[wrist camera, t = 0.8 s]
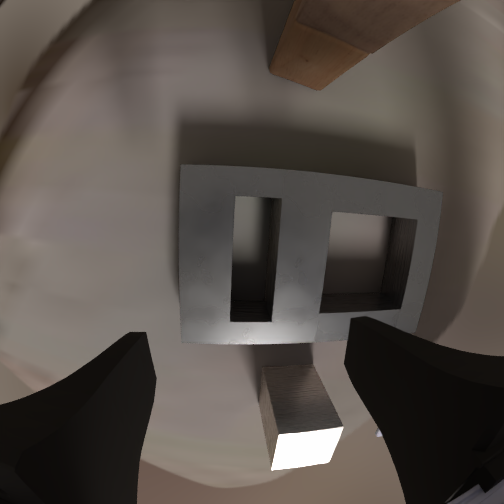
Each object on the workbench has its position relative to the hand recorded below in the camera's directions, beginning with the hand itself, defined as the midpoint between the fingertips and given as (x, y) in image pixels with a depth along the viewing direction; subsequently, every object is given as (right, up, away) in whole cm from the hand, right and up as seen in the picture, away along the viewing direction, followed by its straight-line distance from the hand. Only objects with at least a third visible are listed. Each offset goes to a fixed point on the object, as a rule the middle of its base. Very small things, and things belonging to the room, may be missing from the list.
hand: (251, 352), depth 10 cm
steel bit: (+3, -7, +12) cm, 14 cm away
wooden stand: (+4, +19, +6) cm, 20 cm away
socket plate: (+4, +3, +9) cm, 11 cm away
